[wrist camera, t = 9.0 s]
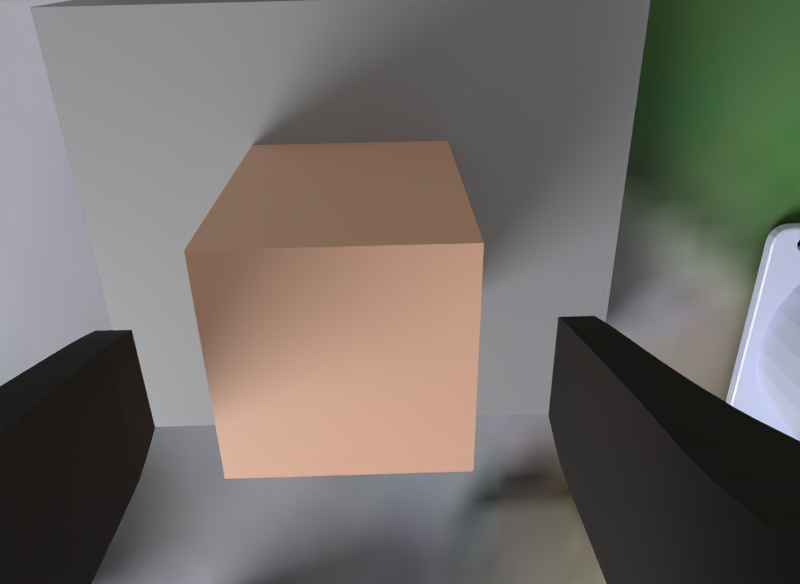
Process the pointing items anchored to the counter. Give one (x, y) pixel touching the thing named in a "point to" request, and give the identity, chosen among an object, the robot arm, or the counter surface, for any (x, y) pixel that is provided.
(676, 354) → the counter surface
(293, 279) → the terracotta block
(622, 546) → the robot arm
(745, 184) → the counter surface
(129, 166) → the plinth
